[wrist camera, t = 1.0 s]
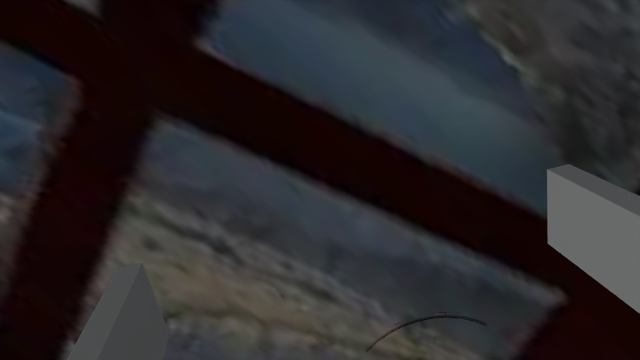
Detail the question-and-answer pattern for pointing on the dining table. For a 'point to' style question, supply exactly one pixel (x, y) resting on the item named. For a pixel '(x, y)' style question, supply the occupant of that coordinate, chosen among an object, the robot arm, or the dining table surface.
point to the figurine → (417, 321)
